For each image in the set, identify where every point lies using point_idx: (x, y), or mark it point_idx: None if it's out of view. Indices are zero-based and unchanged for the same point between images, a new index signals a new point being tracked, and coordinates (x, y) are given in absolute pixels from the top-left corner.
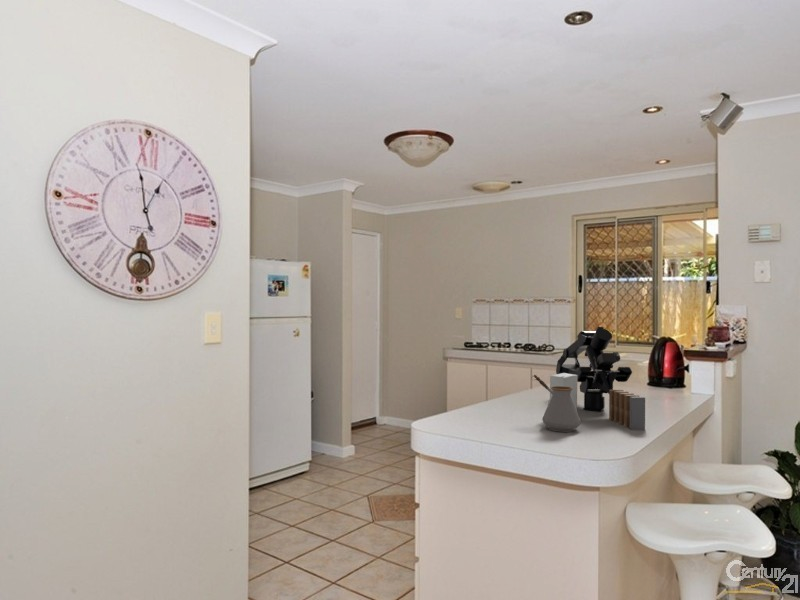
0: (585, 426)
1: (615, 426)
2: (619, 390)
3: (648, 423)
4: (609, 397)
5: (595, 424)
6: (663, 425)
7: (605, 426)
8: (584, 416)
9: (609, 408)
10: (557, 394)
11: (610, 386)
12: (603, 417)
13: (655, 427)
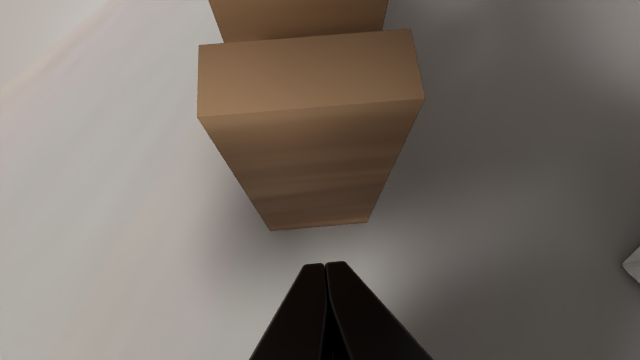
0: (579, 14)
1: (398, 22)
2: (272, 40)
3: (144, 104)
4: (398, 149)
5: (509, 62)
6: (83, 58)
7: (458, 20)
8: (546, 322)
9: (376, 194)
10: None
11: (320, 337)
12: (391, 287)
13: (168, 12)
